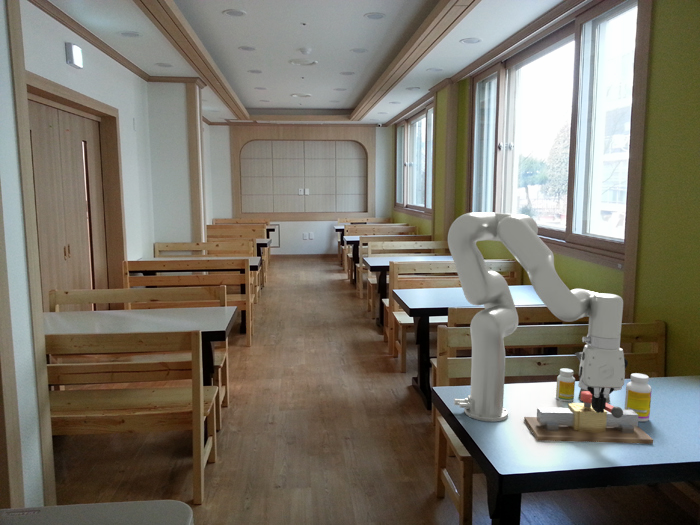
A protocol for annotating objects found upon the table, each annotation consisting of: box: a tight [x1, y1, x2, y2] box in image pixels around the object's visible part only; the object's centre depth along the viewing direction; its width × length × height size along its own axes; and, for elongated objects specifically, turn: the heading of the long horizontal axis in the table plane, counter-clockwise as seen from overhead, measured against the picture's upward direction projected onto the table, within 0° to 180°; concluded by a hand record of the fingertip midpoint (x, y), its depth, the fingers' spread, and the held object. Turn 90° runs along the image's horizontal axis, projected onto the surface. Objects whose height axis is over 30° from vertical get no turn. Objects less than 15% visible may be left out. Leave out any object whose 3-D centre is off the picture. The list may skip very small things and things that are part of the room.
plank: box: [523, 416, 654, 445], centre depth 152 cm, size 30×13×1 cm, turn 88°
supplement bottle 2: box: [623, 372, 652, 423], centre depth 162 cm, size 7×7×13 cm
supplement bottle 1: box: [555, 367, 576, 403], centre depth 176 cm, size 5×5×10 cm
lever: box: [580, 391, 623, 418], centre depth 146 cm, size 14×4×4 cm, turn 15°
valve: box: [536, 402, 639, 434], centre depth 152 cm, size 26×6×6 cm, turn 88°
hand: (597, 410), depth 143 cm, fingers closed
